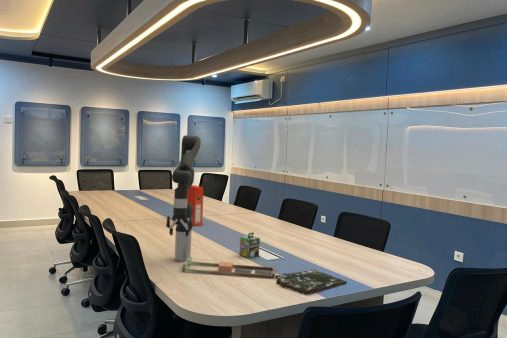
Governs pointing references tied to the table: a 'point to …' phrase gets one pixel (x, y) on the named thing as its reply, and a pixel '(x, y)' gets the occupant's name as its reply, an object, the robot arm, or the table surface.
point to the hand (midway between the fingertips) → (179, 235)
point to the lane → (239, 271)
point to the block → (225, 266)
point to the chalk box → (249, 246)
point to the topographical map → (308, 281)
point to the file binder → (196, 203)
